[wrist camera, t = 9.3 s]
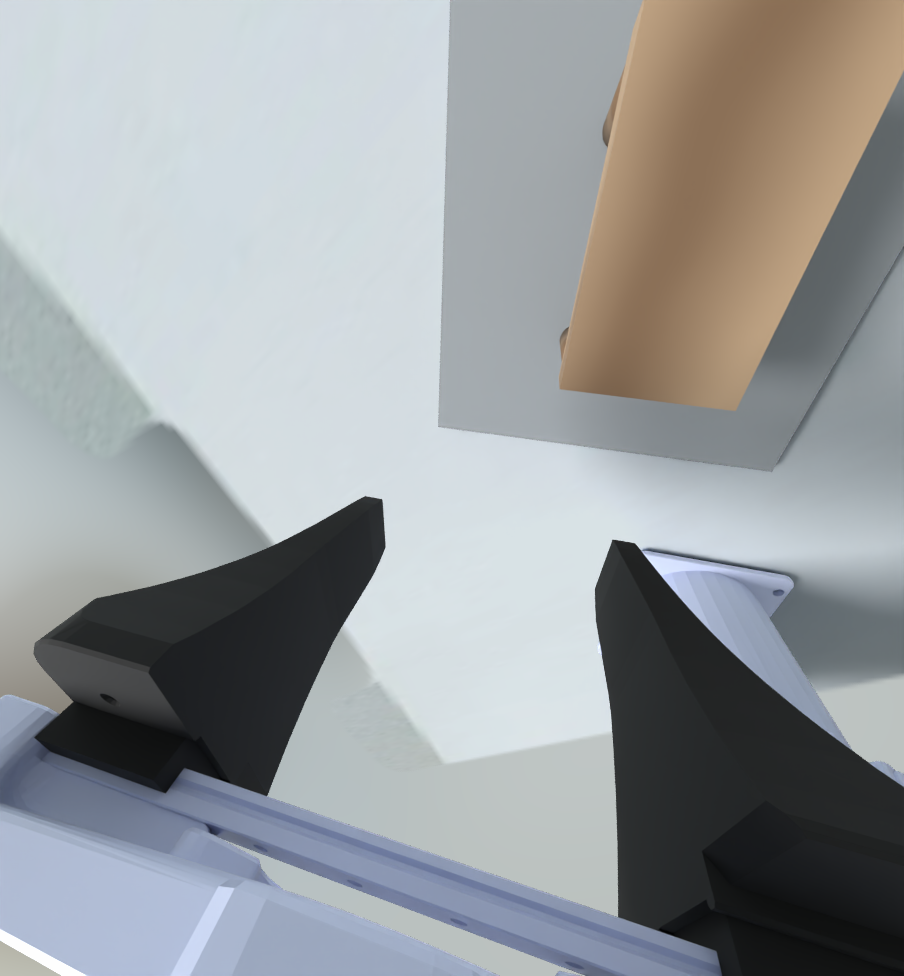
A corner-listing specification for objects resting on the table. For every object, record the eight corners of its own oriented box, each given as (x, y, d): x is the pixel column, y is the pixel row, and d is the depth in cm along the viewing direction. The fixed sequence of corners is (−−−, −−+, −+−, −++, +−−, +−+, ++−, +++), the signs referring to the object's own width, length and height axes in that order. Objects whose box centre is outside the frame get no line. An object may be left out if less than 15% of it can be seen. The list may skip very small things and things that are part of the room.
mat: (765, 465, 17) (771, 471, 17) (440, 422, 20) (438, 426, 19) (1093, -112, 9) (1126, -134, 8) (456, -49, 12) (452, -63, 11)
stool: (775, 102, 11) (954, -33, 6) (675, 365, 15) (735, 411, 10) (607, 102, 12) (648, -16, 7) (557, 352, 16) (559, 389, 11)
